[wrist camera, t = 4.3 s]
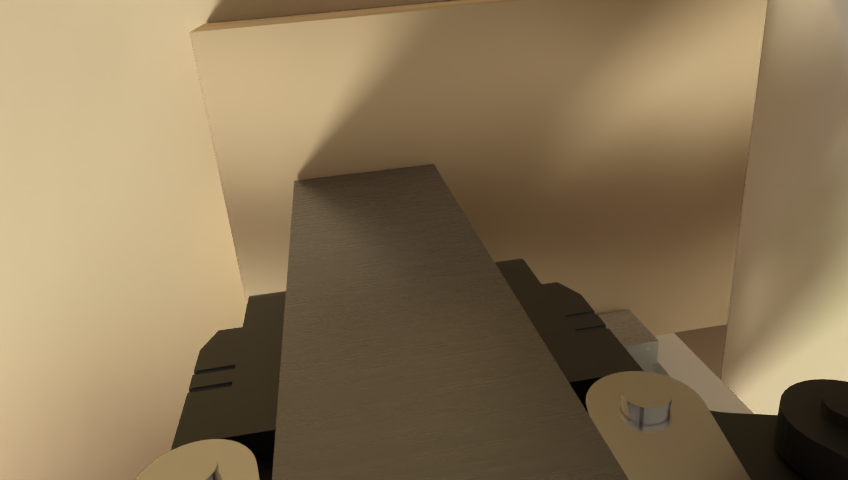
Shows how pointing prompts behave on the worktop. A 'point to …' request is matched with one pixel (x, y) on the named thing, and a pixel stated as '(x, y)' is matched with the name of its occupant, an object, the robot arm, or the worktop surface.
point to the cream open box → (695, 375)
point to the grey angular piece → (420, 347)
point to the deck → (510, 136)
